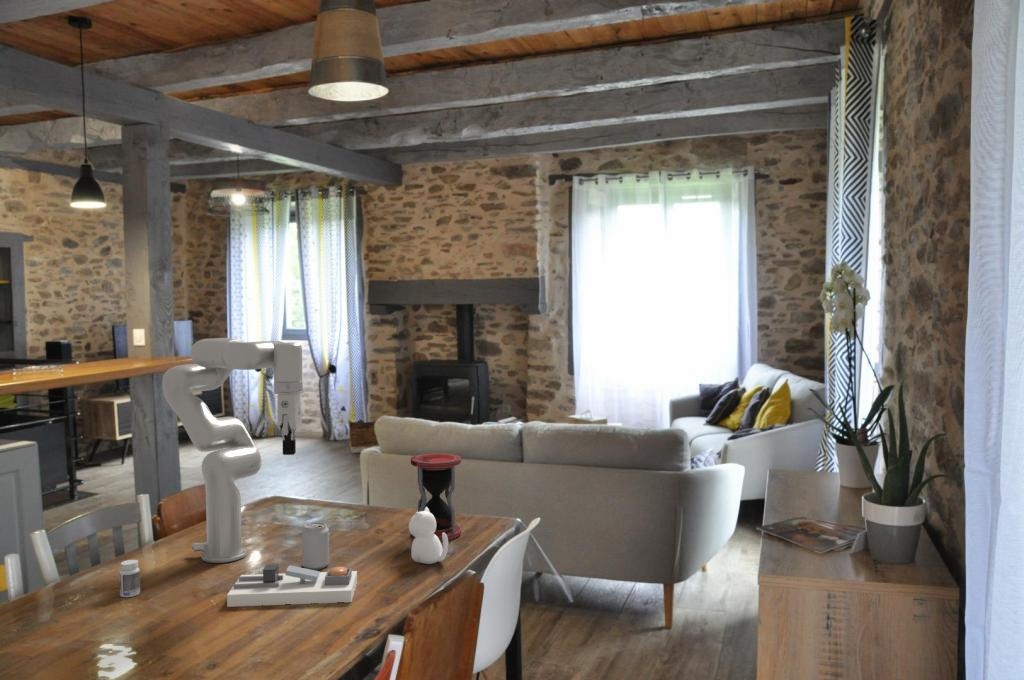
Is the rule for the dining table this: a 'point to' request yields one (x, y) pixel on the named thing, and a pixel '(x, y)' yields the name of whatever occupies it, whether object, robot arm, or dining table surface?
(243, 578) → the panel
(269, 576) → the slider
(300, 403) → the robot arm
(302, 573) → the slate rocker
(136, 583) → the pill bottle
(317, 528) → the can
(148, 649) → the dining table surface
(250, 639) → the dining table surface
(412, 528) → the cat figurine
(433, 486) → the hourglass
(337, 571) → the button
